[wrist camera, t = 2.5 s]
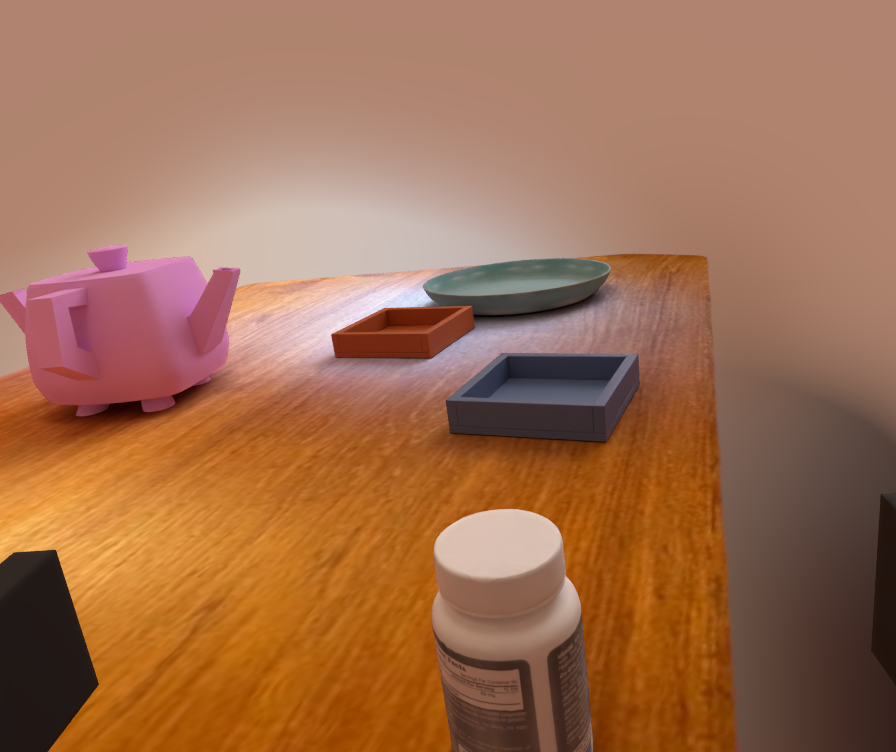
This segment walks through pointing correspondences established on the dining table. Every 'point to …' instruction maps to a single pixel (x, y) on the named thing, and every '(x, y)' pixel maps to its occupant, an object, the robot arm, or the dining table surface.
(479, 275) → the saucer
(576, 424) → the blue tray
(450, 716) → the pill bottle
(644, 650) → the dining table surface
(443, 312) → the burnt orange tray
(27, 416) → the dining table surface
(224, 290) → the teapot
